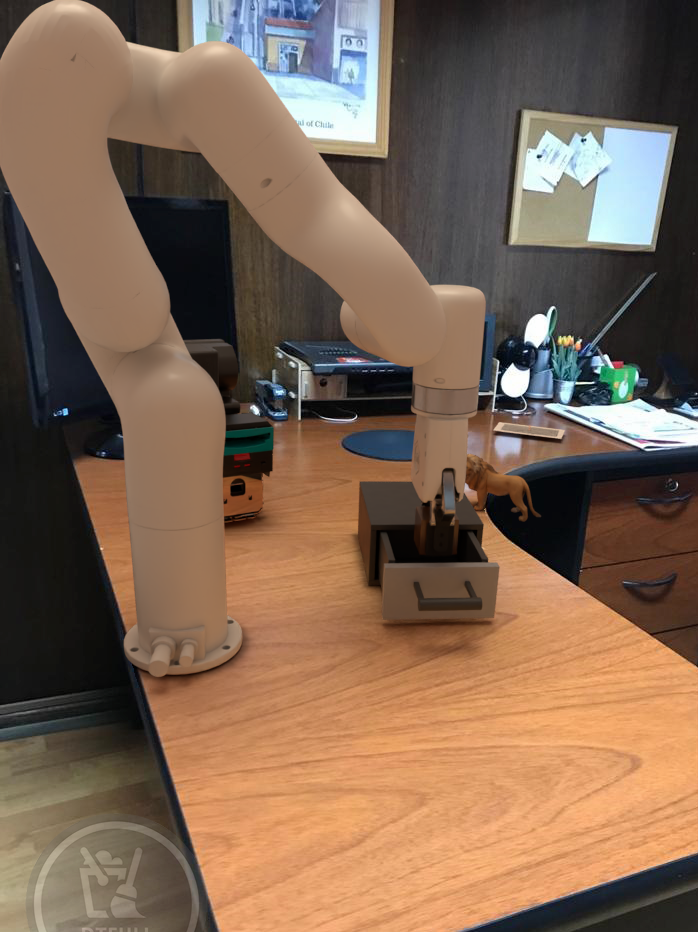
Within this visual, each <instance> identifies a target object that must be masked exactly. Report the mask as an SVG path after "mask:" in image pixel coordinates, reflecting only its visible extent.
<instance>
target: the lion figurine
mask: <svg viewBox="0 0 698 932" xmlns="http://www.w3.org/2000/svg"><path fill="white" fill-rule="evenodd" d="M465 485H466V486H467V487H468V489H469V490H471V491H474V492H476V498H477V503H476V505H474V506H473V508H474V509H475V511H481V510H483V509H484V507H485V505H486V503H487V498H488V494H491V495H493V496H494V495H495V496H498V497H501V496H503V497H504V496H506V495H509V497H510V500H511V501H512V503H513V505H515V507H512V508H511V509H510V512H512V513H515V514H516V513H519V512H521V514H522V515H520V516H518V520H519V522H527V520H528V518H529V516H528V507H529V510H530V513H531V514H532V515H533V516H534V517H536V518H541V517H542V515H541V514H540V513H538V512H537V511H535V508H534V507H533V503H532V502H533V501H532V496H531V490H530V488H529V485H528V483H527V482H526V480H525V479H524V478H523V477H522V476H519V475H508V474H502V473H499V472H497V471H496V470H495V468H494V466H492V465H491V464H490V463H489V462H487V461H485V460H484V459H483V458H482V457H480V456H478V455H476V454H473V453H467V465H466V479H465ZM525 495H526V499H527V504H528V507H527V505H525V503H524V496H525Z"/></svg>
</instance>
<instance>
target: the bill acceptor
mask: <svg viewBox="0 0 698 932" xmlns="http://www.w3.org/2000/svg"><path fill="white" fill-rule="evenodd" d="M183 341H184V343H185V346H186V348H187V350H188V352H189V354H190V356H191V358H192V359H193V360H194V361H195V362H197V363H198V364H199V365H200V366H201V367H202V368H203V369H204V370H205V371H206V372H207V373H208V374H209V375H210V377H211V378H212V379H213V381H214V382H215V384H216V386H217V387H218V389H219V392H220V394H221V397H222V400H223V404H224V409H225V417H226V432H225V444H224V455H223V509H224V523H230V522H233V521H235V522H236V521H243V520H247V519H248V520H249V519H256V517H257V516H256V514H257V515H258V514H259V513H261V512H262V510H263V509H264V504H265V503H264V483H263V482H264V479H263V478H264V476H267V477H268V478H270V475H271V473H272V472H273V471H274V464H273V463H274V446H275V445H274V441H275V438H274V437H275V427H274V426H273V425H272V423H270V422H269V421H268V420H266V419H265V418H263V417H260V416H258V415H257V414H255V413H254V412H241V403H240V401H238V400H236V399H234V398H233V390H234V389H236V387H237V384H238V381H239V363H238V359H237V355H236V352H235V350H234V347H233V345H231V344H229V343H228V342H225V340H224V339H222V338H211V339H210V338H209V339H206V338H205V339H183Z"/></svg>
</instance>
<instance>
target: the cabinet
mask: <svg viewBox="0 0 698 932" xmlns="http://www.w3.org/2000/svg"><path fill="white" fill-rule="evenodd" d="M358 487H359V488H358V489H359V490H358V518H357V538H358V543H359V548H360V552H361V557H362V562H363V566H364V567H363V568H364V572H365V577H366V580H367V584H368V585H367V586H381V584H380V580H379V576H378V572H377V568H376V564H375V559H376V536H377V530H414V529H415V512H416V506H421V499H420V498H419V496H418V494H417V492H416V490H415V488H414V485H413V483H412V481H397V480H396V481H394V480H393V481H391V480H390V481H389V480H388V481H387V480H386V481H384V480H383V481H381V480H380V481H379V480H377V481H375V480H373V481H372V480H371V481H368V480H367V481H366V480H365V481H364V480H363V481H361V480H360V481H359V486H358ZM455 513H456V515H457V517H458V519H459V528H458V530H472V531H473V533H474V535H475V536H476V538H477V540H478V542H479V544H480V545H481V547H482V545H483V538H484V537H483V536H484V526H485V525H484V522H483V521H482V519H481V517H480V516H479V513H477V510H475V509H474V506H473V505H472V503H471V501H470V500H469V498H468V497H467V495H466V493H465V492H464V495H463V499H462V500H461V501H460V502H456V501H455ZM482 548H483V547H482Z"/></svg>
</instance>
